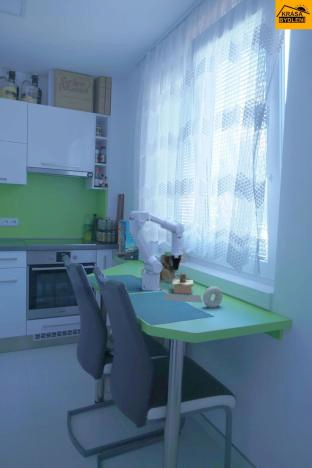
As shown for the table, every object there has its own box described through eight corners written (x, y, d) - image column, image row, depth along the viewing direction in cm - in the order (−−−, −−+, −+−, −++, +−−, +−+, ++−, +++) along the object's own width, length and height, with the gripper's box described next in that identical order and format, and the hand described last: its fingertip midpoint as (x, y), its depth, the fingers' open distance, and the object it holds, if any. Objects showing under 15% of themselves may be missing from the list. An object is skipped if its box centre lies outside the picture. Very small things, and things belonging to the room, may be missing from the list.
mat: (163, 301, 160) (164, 300, 160) (164, 294, 173) (164, 293, 173) (202, 303, 159) (202, 302, 159) (200, 296, 172) (200, 295, 172)
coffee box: (176, 281, 207) (178, 255, 205) (173, 283, 201) (174, 256, 199) (162, 279, 210) (163, 254, 209) (159, 281, 204) (160, 255, 203)
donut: (205, 310, 149) (206, 287, 148) (200, 308, 152) (201, 286, 151) (223, 308, 153) (224, 286, 152) (218, 305, 156) (219, 284, 156)
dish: (173, 294, 175) (174, 284, 174) (173, 290, 184) (174, 281, 183) (191, 295, 174) (191, 285, 174) (190, 291, 183) (190, 281, 183)
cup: (157, 280, 207) (158, 266, 207) (141, 280, 205) (142, 266, 205) (155, 278, 214) (156, 264, 214) (140, 278, 213) (140, 264, 212)
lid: (172, 285, 173) (172, 275, 173) (172, 280, 184) (172, 271, 184) (193, 286, 173) (194, 276, 172) (192, 281, 184) (192, 272, 183)
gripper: (184, 246, 182) (183, 271, 183) (183, 243, 197) (182, 266, 198) (170, 246, 182) (170, 271, 184) (171, 243, 197) (170, 266, 198)
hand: (176, 268), depth 191 cm, fingers open, 7 cm apart
